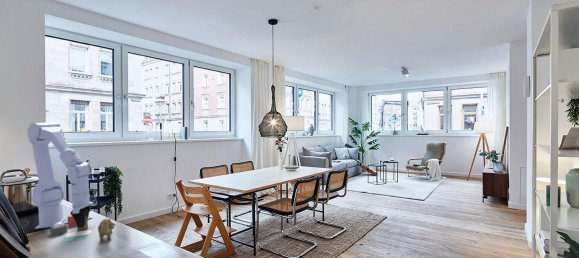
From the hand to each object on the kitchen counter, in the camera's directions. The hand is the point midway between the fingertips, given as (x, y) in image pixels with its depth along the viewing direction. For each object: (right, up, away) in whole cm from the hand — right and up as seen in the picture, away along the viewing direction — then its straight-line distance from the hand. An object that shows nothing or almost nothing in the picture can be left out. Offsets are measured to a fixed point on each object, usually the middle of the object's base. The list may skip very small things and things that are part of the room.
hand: (82, 225), depth 124 cm
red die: (-8, -1, +6) cm, 10 cm away
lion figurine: (+16, -2, -10) cm, 19 cm away
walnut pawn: (0, -1, 0) cm, 1 cm away
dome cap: (-7, -1, -3) cm, 8 cm away
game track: (+2, -2, -5) cm, 5 cm away
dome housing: (-7, -2, -3) cm, 8 cm away
